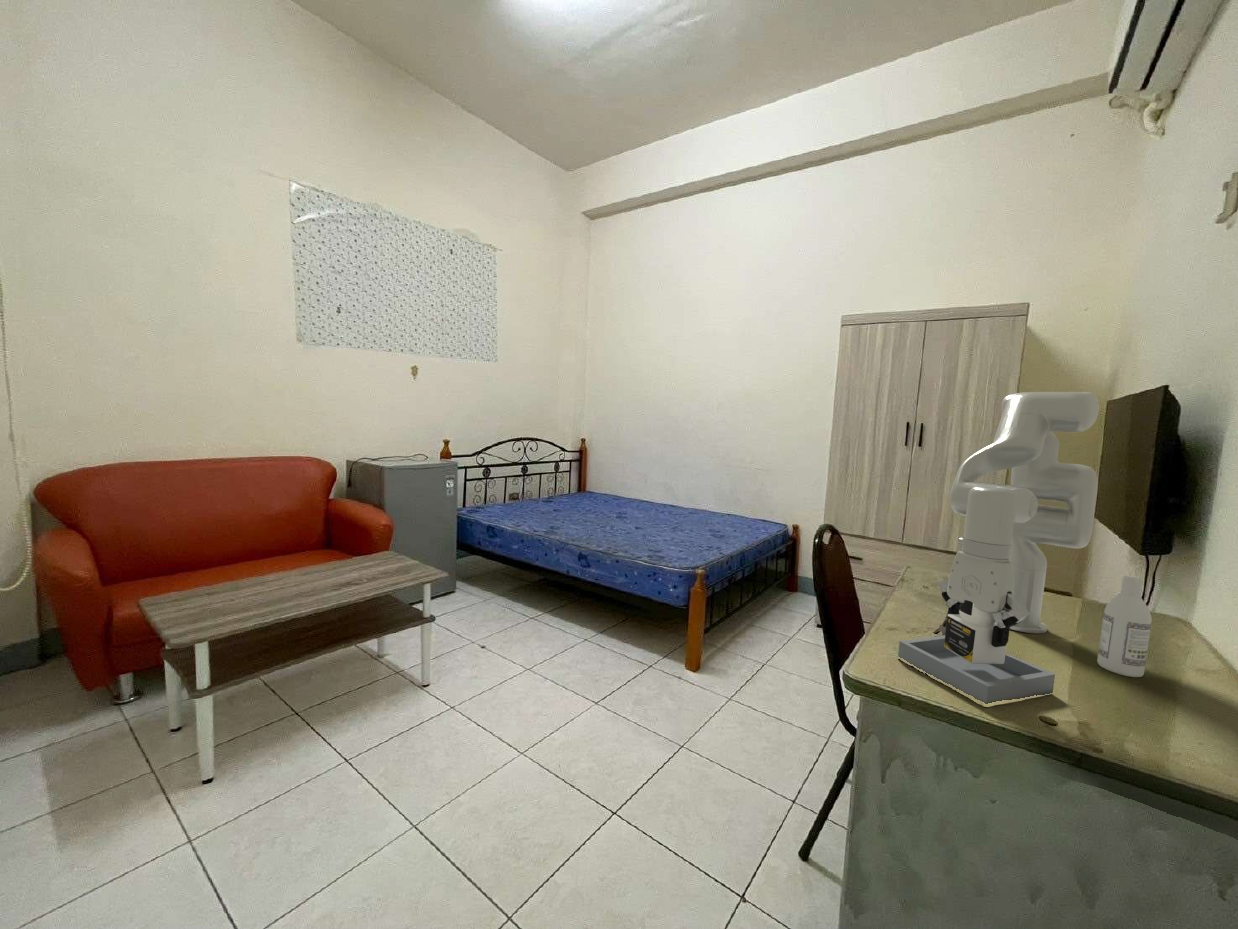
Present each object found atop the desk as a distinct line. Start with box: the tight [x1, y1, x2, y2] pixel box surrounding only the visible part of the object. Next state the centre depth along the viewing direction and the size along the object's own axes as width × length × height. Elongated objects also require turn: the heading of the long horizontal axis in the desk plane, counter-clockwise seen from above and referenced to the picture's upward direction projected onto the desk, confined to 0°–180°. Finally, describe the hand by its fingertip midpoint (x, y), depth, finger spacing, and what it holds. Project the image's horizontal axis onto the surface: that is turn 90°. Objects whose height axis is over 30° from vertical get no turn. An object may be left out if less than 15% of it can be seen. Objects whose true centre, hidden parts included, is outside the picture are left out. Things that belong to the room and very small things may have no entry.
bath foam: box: [1096, 575, 1153, 678], centre depth 102 cm, size 7×7×20 cm
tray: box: [897, 635, 1056, 704], centre depth 97 cm, size 18×18×4 cm
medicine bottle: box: [944, 600, 1008, 664], centre depth 96 cm, size 7×7×12 cm
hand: (975, 635), depth 96 cm, fingers closed on medicine bottle, 8 cm apart
